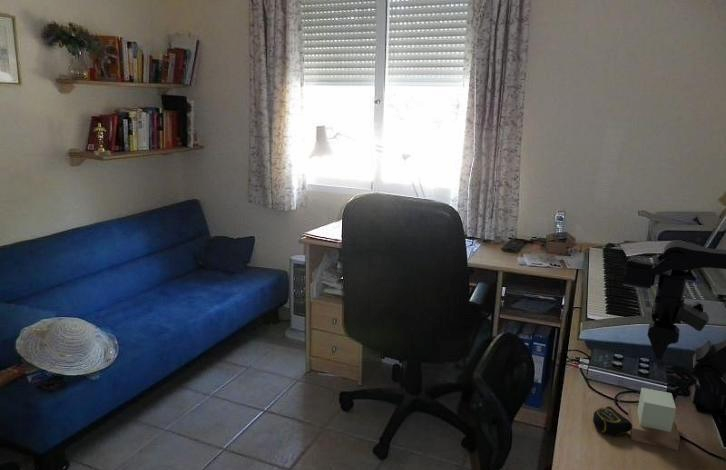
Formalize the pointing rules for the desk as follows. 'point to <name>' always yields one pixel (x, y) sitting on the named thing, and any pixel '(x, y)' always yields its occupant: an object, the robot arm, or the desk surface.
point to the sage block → (656, 409)
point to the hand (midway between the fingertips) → (659, 351)
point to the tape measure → (610, 421)
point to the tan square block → (652, 432)
